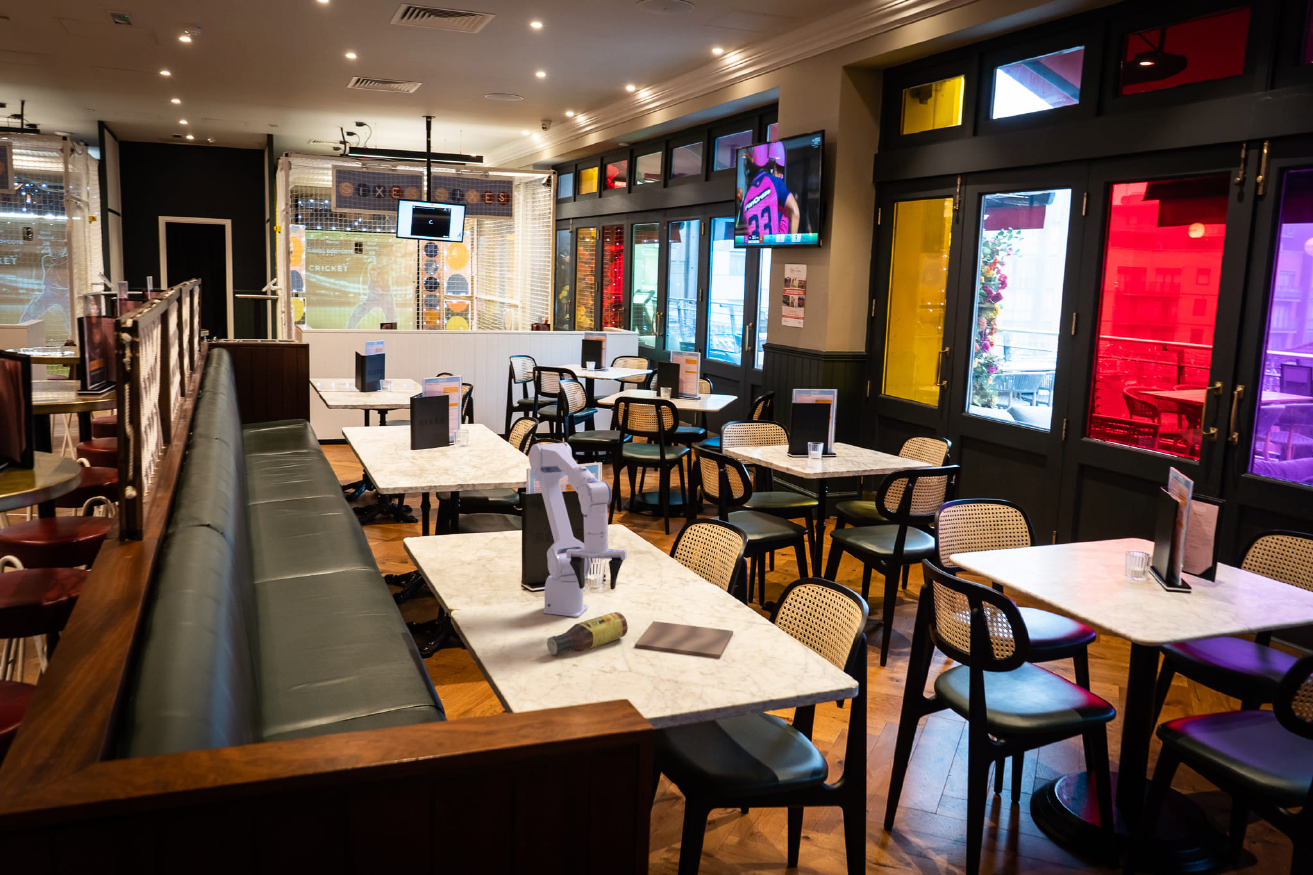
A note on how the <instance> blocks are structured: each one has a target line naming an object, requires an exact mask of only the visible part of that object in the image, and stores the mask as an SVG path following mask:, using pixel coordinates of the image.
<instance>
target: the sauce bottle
mask: <svg viewBox="0 0 1313 875" xmlns="http://www.w3.org/2000/svg"><path fill="white" fill-rule="evenodd" d="M628 629H629V628H628V622H627V619H626V618H625V616H624V615H623V614H622V613H621V612H618V611H616V612H610V613H607V614H603V615H601V616H597V617H594V618H591V619H587V620H584V621H581V622H579V623H575V624H574V625H573V626H572V627H570V628H569V629H568V630H567V631H566V632H564V633H562V634H559V635H553V636H550V637H548V638H547V641H546V646H547V650H548V652H549V653H550V654H551V655H552V656H556V655H560V654H561V653H562V652H566V651H569V650H572V651H575V652H581V651H585V650H587V649H591V648H594V647H598V646H602V645H604V644H608V643H611V642H614V641H617V640H618V639H620V638H623V637H625V636H626V634H627V633H628Z"/></svg>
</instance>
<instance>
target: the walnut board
mask: <svg viewBox="0 0 1313 875" xmlns="http://www.w3.org/2000/svg"><path fill="white" fill-rule="evenodd" d="M733 635H734V630H730V629H729V630H728V629H721V628H712V627H705V626H696V625H688V624H680V623H671V622H663V621H655V620H653V621H652V622H651V624H650V625H649V626H648V628H647V629H646V630H645V631H644V632H643V633H642V635H641V636H640V637H639V638H638V640H637V641H636V642H635V643H634V647H635V648H637V649H647V650H653V651H662V652H671V653H677V654H683V655H684V654H685V655H692V656H698V657H699V656H700V657H707V658H708V657H709V658H714V659H721V658H722V656H723V653H724V652H725V650H726V648H727V647H728V645H729V642H730V641H731V639H732V637H733Z"/></svg>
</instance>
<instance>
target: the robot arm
mask: <svg viewBox="0 0 1313 875" xmlns="http://www.w3.org/2000/svg"><path fill="white" fill-rule="evenodd" d="M572 452H573V451H572V447H571V446H570V445H569V444H568V442H566V441H565V442H564V441H563V442H559V443H558V442H557V443H542V444H535V443H534V444H532V446H531V447H530V450H529V454H528V455H529V456H528V462H529V465H530V470H531V472H532V476H533V479H534V480H536V481H538V483H539V487H540V491H541V495H542V498H543V503H544V506H545V510H546V514H547V519H548V522H549V526H550V530H551V535H552V536H553V537H552V538H553V541H554V542H553V543H552V544H551V546H550V547H549V548H548V549H547V552H546V557H547V569H548V572H549V574H550V575H548V576H547V578H546V581H545V584H544V606H543V607H544V608H543V612H542V613H544V614H550V615H557V616H566V617H575V618H579V617H580V616H581V615H582V614H583V613H584V612H585V611H586V610H587V609H588V608H589V605H586V604H585V605H584V588H585V586H586V585H585V584H586V581H585V579H586V578H587V574H588V573H589V572H590V570H591V567H592V561H591V560H592V559H604V560H605V559H607V560H608V559H609V561H608V566H609V574H610V577H609V578H610V579H609V580H610V583H609V585H610V586H609V587H610V588H609V589H610V590H613V591H614V589H616V585H617V584H616V583H617V579H618V575H619V572H620V569H621V566H622V565H623V562H624V560H626V559H628V552H627V551H628V550H627V549H616V548H609V530H608V529H609V524H608V518H609V517H608V505H610V503H611V502H612V495H613V493H612V488H611V485H610V484H609V483H608V481H607V480H598V479H597V477H595V475H594V474H592V472H591V471H590V470H589V469H588V468H587V467H586V466H585V465H584V466H582V465H579V464H578V463H577V461H576V460H575V459H574V458H573V454H572ZM566 476H567V483H568V484H569V485H570V487H571V488H572V489H573V490H574V491H575V492H576V493H577V494H578V495H577V496H578V501H579V504H580V511H581V514H582V515H583V538H584V540H583V542H582V541H581V540H580V539H577V538H576V537H574V533H573V530H572V525H571V522H570V518H569V515H568V511H567V506H566V503H565V499H564V494H563V491H562V488H561V484H560V480H561V479H563V478H564V477H566Z"/></svg>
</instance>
